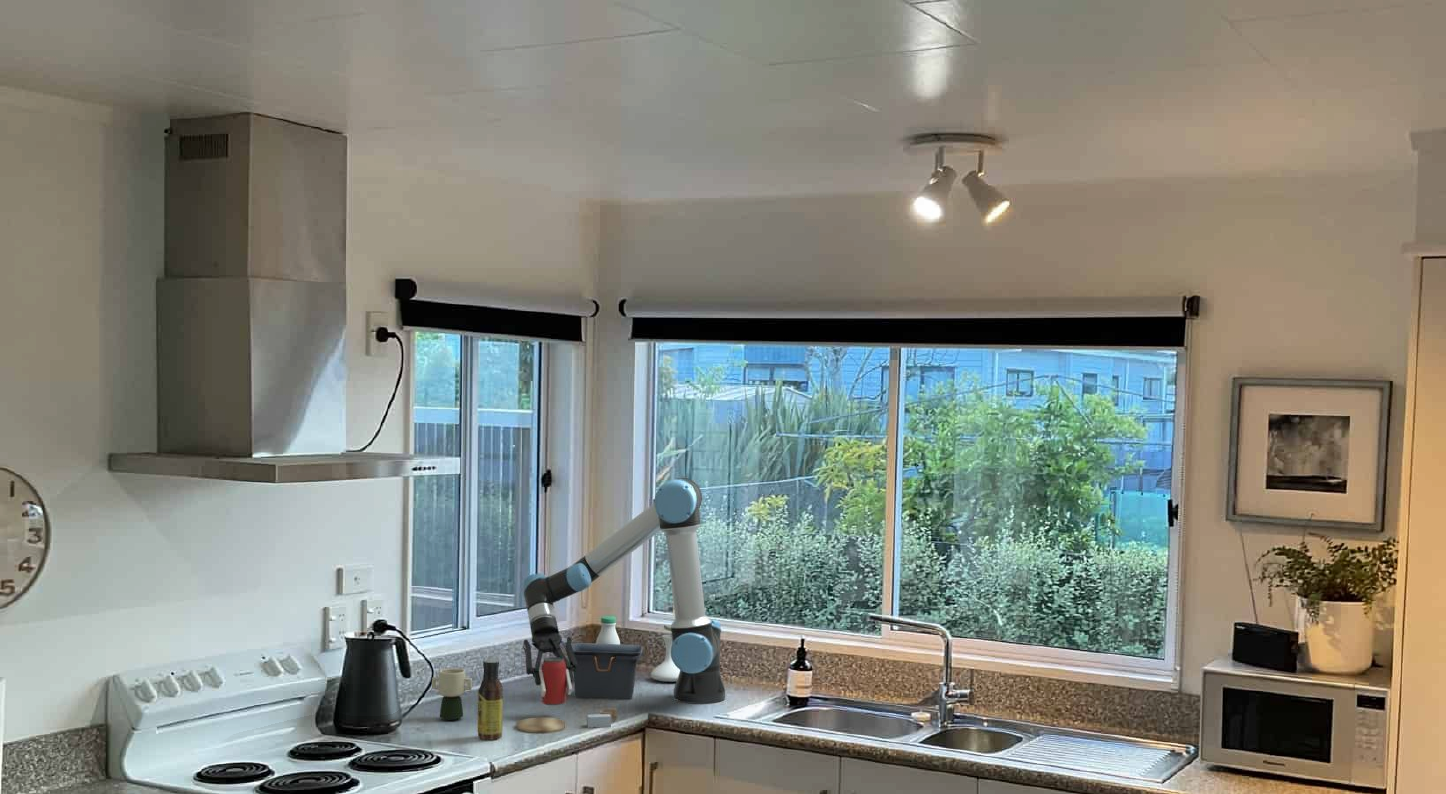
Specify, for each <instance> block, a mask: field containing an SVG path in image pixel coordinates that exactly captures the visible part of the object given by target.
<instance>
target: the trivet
mask: <svg viewBox="0 0 1446 794" xmlns="http://www.w3.org/2000/svg"><path fill="white" fill-rule="evenodd" d="M566 724H567V723H566V721H564V720H563V719H559V718H554V717H529V718H525V719H521V720H520V719H519V720H518V721H516V722H515V728H516V730H518V731H519V732H523V733H529V734H530V733H531V734H548V733H557V732H560V731H563V730H565V729H566V727H567V726H566Z"/></svg>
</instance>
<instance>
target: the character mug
mask: <svg viewBox="0 0 1446 794" xmlns="http://www.w3.org/2000/svg"><path fill="white" fill-rule="evenodd" d="M436 681H437V682H438V685H436ZM466 682H468V684H467V685H468V686H466ZM431 688H432V689H433V690H438V694H439V695H440V696H441V697H442V699H441V705H440V710H439V718H440V719H442V720H451V721H452V720H458V719H460V718H463V717H464V711H463V709H464V708H463V700H462V697H461V696H463V695H465V692H466V691H472V690H473V679H472V678H471V677H466V670H465V669H464V668H458V667H457V668H456V667H455V668H443V669H440V670H439V671H438V676H433V677H432V678H431Z"/></svg>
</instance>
